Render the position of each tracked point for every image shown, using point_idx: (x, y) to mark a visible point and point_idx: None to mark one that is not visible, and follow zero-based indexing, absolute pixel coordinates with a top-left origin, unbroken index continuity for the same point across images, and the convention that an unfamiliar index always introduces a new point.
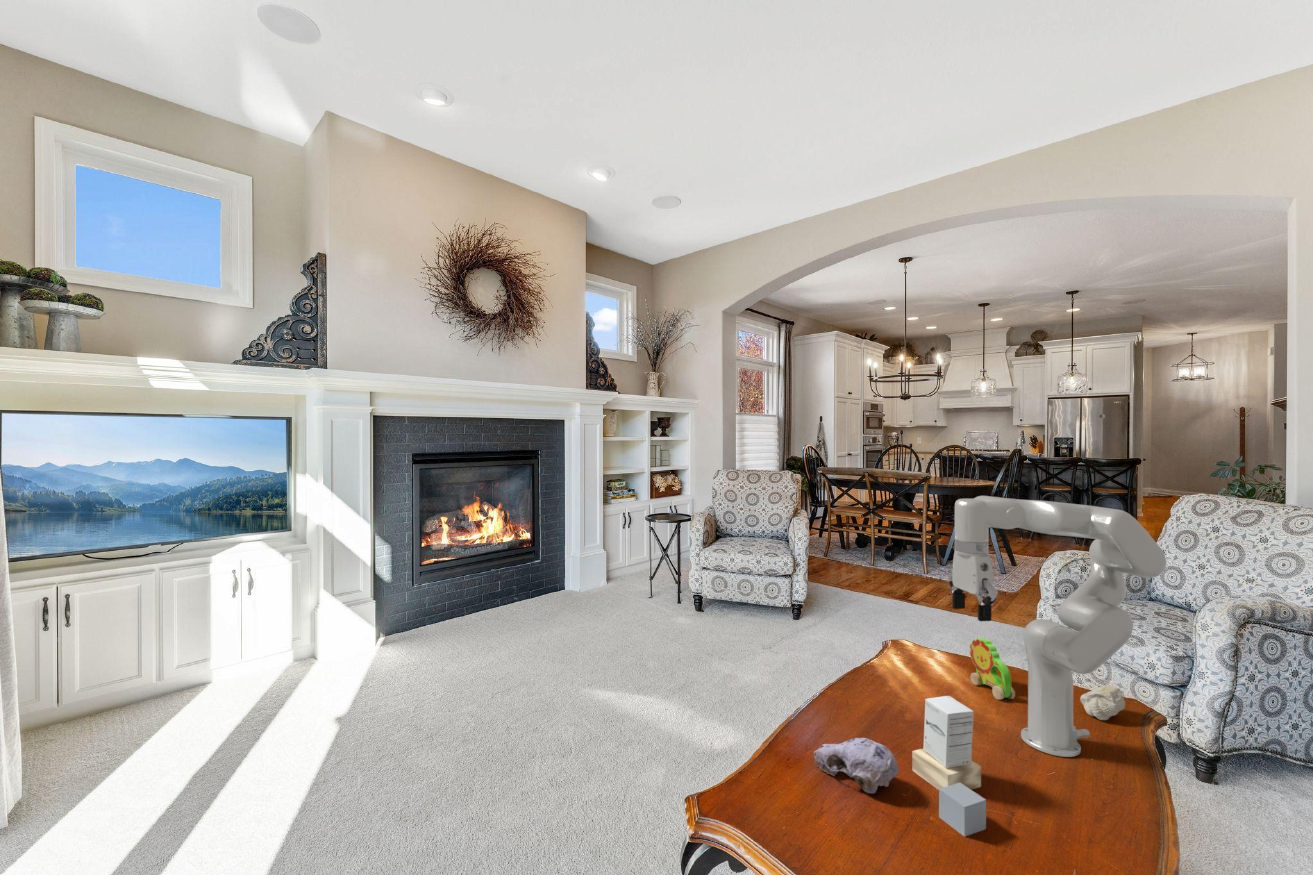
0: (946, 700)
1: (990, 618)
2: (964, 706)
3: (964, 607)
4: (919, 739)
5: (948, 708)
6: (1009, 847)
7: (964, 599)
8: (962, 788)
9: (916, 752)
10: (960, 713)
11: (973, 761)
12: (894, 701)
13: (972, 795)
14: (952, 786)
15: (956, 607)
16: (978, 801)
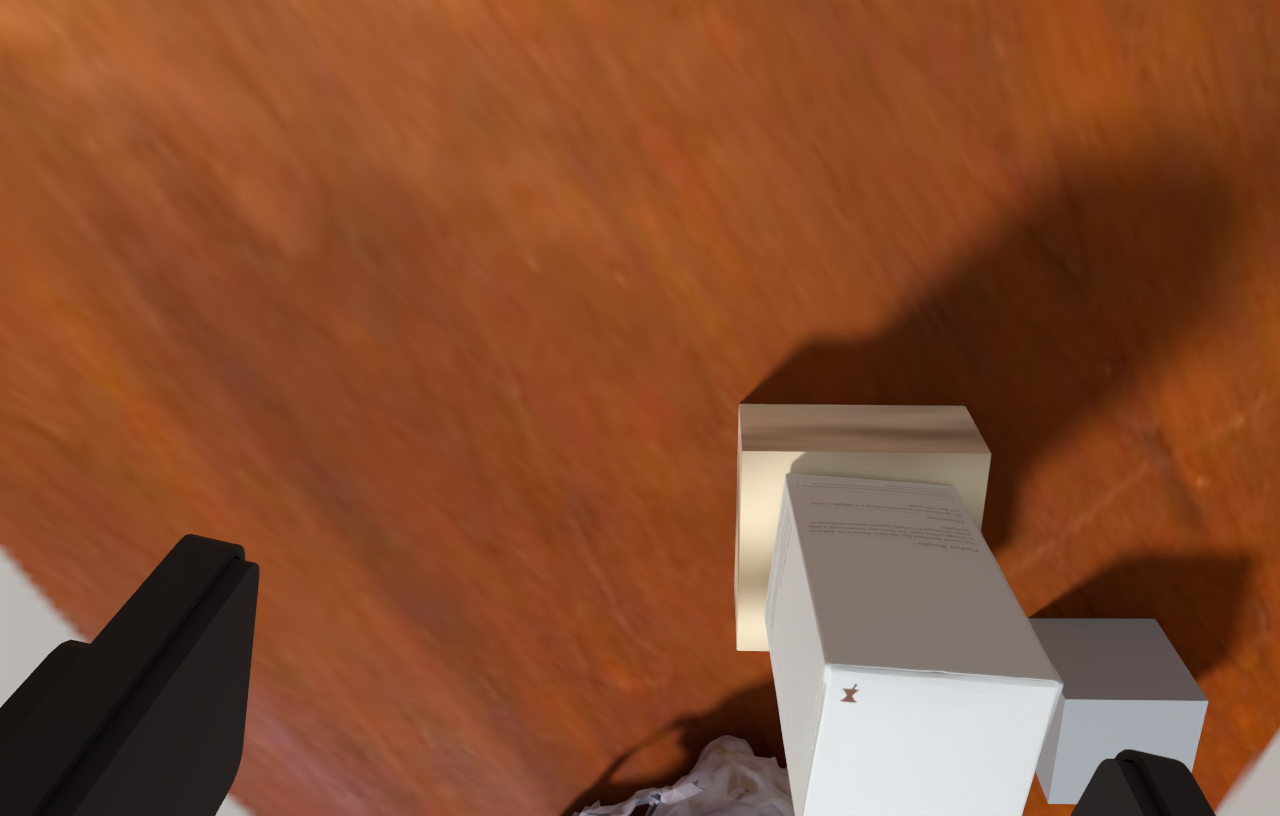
0: (878, 743)
1: (1186, 800)
2: (990, 692)
3: (253, 577)
4: (519, 355)
5: (965, 810)
6: (1266, 626)
7: (149, 725)
8: (1100, 722)
9: (755, 642)
10: (1033, 772)
11: (943, 454)
12: (66, 143)
13: (1155, 723)
14: (1068, 748)
15: (232, 749)
16: (1195, 735)
